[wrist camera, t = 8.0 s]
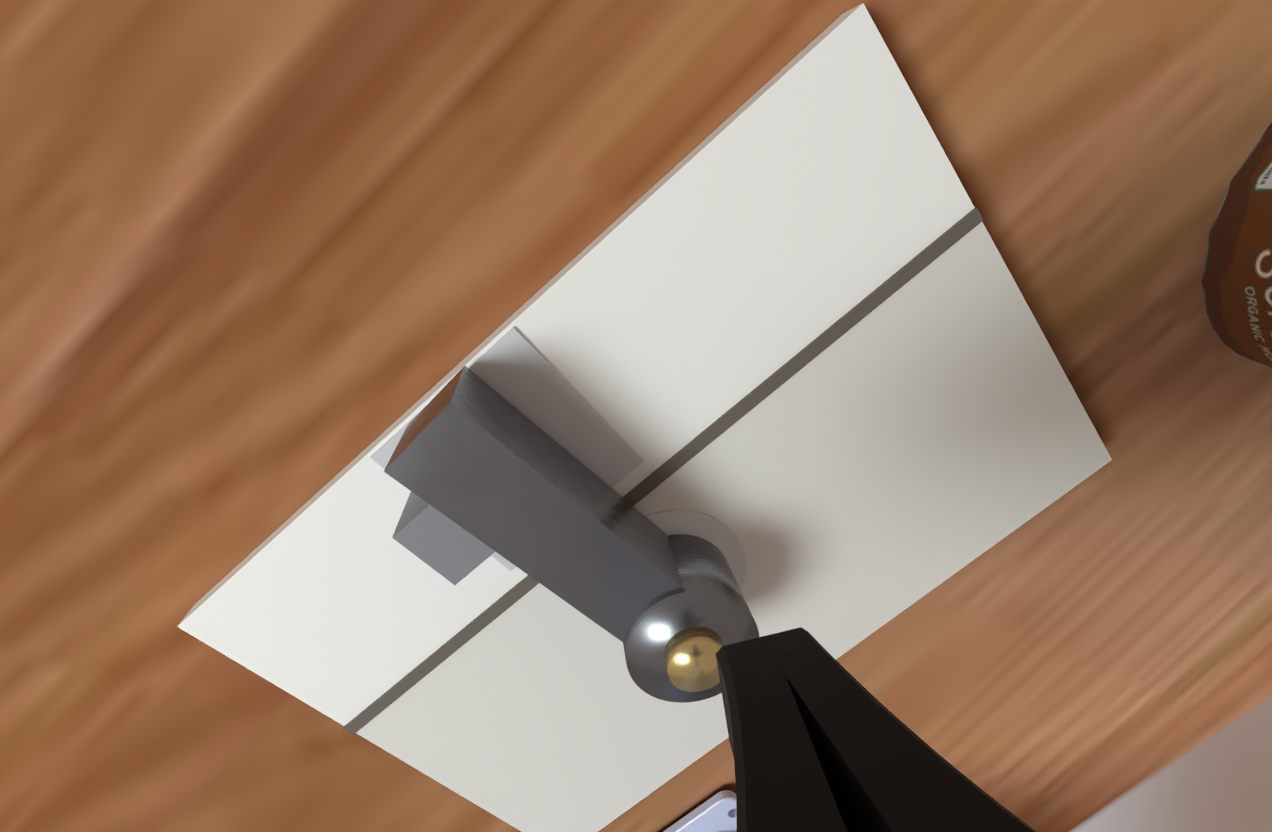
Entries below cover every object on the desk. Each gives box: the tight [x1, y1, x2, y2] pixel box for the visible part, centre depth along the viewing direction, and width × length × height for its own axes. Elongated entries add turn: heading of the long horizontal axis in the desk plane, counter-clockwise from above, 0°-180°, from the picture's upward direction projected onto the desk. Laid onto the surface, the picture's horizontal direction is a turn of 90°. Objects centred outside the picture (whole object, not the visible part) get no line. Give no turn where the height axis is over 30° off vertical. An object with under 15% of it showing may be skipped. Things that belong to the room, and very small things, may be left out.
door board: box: [177, 3, 1112, 832], centre depth 18 cm, size 16×24×3 cm, turn 130°
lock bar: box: [384, 366, 759, 703], centre depth 16 cm, size 11×4×3 cm, turn 44°
